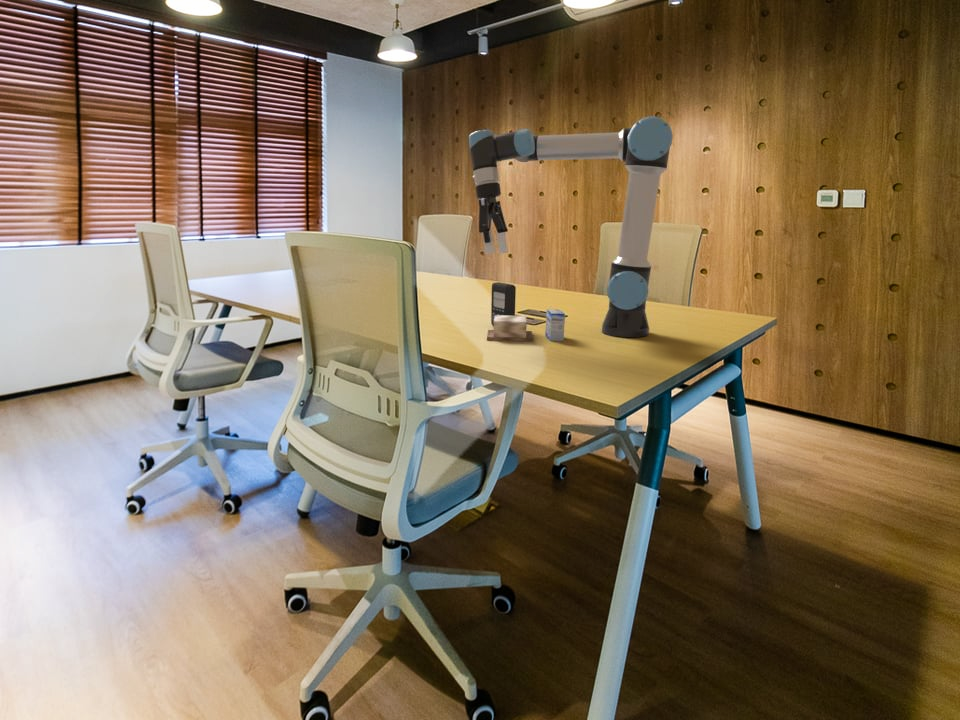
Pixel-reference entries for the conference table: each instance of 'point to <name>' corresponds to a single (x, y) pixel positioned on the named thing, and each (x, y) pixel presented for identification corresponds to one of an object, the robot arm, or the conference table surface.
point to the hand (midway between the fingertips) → (497, 253)
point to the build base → (510, 329)
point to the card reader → (502, 300)
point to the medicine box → (555, 325)
